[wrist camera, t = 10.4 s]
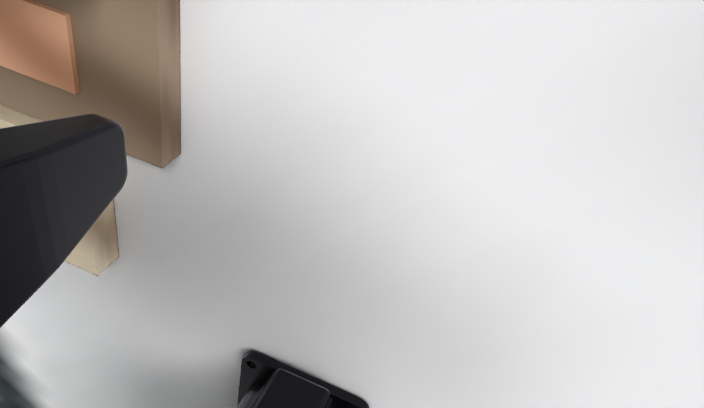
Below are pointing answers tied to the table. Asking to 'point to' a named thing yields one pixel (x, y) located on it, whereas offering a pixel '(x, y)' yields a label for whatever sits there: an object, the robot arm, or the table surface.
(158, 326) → the table surface
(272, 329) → the table surface
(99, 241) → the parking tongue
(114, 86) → the rack board
